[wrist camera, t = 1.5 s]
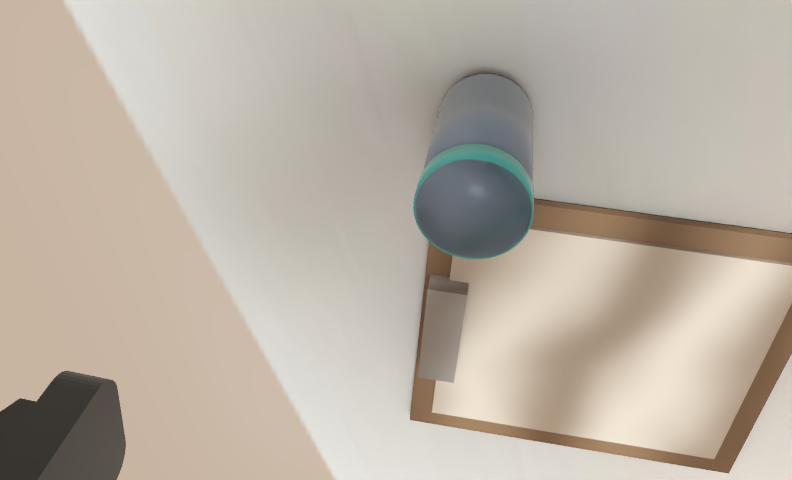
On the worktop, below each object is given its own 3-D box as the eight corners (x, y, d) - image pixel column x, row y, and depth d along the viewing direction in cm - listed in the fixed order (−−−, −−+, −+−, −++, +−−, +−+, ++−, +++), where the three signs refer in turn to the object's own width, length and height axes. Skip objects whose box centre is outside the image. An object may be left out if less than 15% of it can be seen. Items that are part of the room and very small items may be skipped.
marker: (542, 67, 24) (544, 166, 19) (526, 153, 26) (523, 266, 21) (445, 55, 25) (418, 149, 19) (436, 141, 27) (409, 250, 21)
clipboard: (843, 240, 26) (857, 263, 25) (726, 466, 34) (733, 491, 33) (436, 185, 28) (431, 204, 26) (411, 413, 35) (406, 436, 34)
